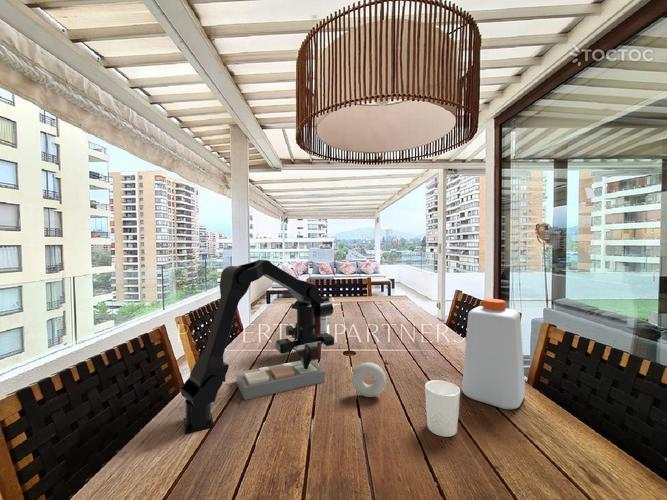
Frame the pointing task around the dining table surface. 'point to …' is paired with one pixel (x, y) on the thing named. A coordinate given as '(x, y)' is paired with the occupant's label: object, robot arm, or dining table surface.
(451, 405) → the white cup
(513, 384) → the plastic bottle
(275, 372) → the terracotta key
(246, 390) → the keypad
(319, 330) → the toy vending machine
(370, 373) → the donut
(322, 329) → the syrup box
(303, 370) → the sage key
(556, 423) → the dining table surface
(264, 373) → the ivory key
